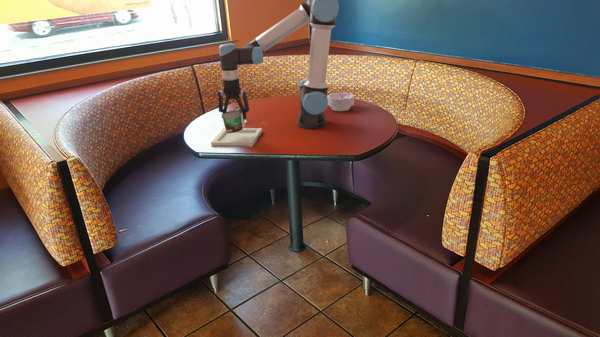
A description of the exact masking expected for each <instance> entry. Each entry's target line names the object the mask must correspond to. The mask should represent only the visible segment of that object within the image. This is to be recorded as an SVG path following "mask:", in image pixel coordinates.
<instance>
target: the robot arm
mask: <svg viewBox="0 0 600 337" xmlns="http://www.w3.org/2000/svg"><path fill="white" fill-rule="evenodd" d="M339 10H340V5H339V1H338V0H305V1H304V2H302V3H301V4H300V5H299V7H298V8H297V9H296V10H294V11H293V12H291V13H290V14H288V15H287V16H285V17H284V18H283V19H281V20H279V22H277V23H276V24H274V25H272V26H271V27H269V28H268V29H267V30H265V31H263V32H262V33H260V34H259V35H258V36H256V37H255V38H253V39H252V40H250V41H247V42H246V43H245V44H244V45H243V46H242V47H237V46H236V44H235V43H230V42H229V43H222V44H220V45H219V46H218V48H219V49H218V50H219V61H220V62H219V63H220V67H221V68H220V69H221V77H222V87H223V88H222V90H218V91H217V97H218V112H219V113H221V114H226V113H227V112H228V107H229V103H230V100H231V99H234V100H235V101H236V103H237V104H238V105H237V106H238V107H240V109H241V111H242V113H241V120H242V127H243V128H245V126H246V123H245V120H247V113H249V112H250V107H249V106H250V105H249V100H248V96H247V95H248V94H247V93H248V91H247V90H246V89H245V90H242V89H241V86H240V78H239V76H240V75H239V68H238V67H239V66H243V65H258V64H263V63H264V53H265V52H266V51H267V50H269V49H270V48H272V47H273V46H275V45H276V44H278V43H280V42H281V41H282V40H284V39H285V38H287V37H288V36H290V35H291V34H292V33H294V32H296V31H297V30H299V29H300V28H302V27H303V26H304V25H306V24H310V26H311V36H310V37H311V39H310V48H309V57H308V58H309V59H308V67H307V68H308V70H307V79H304V80H300V81H299V84H298V88H299V104H300V105H299V107H300V111H299V115H298V117H297V118H298V119H297V126H298V127H300V128H303V129H309V130H310V129H312V130H313V129H320V128H322V127H323V128H324V127H325V126H327V124H328V118H327V116H326V113H325V111H326V110H327V108H328V106H329V105H328V99H327V96H328V92H329V85H328V83H327V82H326V78H327V71H328V62H329V53H330V52H329V51H330V42H331V34H332V29H334V28H335V27H336V21H337V16H338V14H339ZM240 94H241V96H242V99H241V96H240ZM224 95H225V101H223V100H224Z"/></svg>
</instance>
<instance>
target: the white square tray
mask: <svg viewBox="0 0 600 337" xmlns="http://www.w3.org/2000/svg"><path fill="white" fill-rule="evenodd" d="M262 133H263V128H262V127H257V128H256V127H255V128H254V127H243V129H242V130H240V131H238V132H234V133H227V132H226V128H225V127H223V128H222V130H221V131H220V132H219V133H218V134H217V135H216V136H215V138H214V139H213V140H212V141H211V142H210V144H211V145H210V146H211V147H222V148H223V147H226V148H227V147H231V148H233V147H239V148H241V147H242V148H243V147H250V148H253V147H254V145H255V144H256V143H257V141H258V139H259V138H260V137H261V135H262Z"/></svg>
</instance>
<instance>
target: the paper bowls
mask: <svg viewBox="0 0 600 337" xmlns="http://www.w3.org/2000/svg"><path fill="white" fill-rule="evenodd" d="M327 99H328V106H329V107H330V108H331V110H332V111H335V112H346V111H349V110H350V109H351V107H353V106H354V105H355V95H354V94H352V93H349V92H334V93H330V94H329V93H328V94H327Z"/></svg>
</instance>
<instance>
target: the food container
mask: <svg viewBox="0 0 600 337" xmlns="http://www.w3.org/2000/svg"><path fill="white" fill-rule="evenodd" d="M241 113H242V111H241V109H240V107H239V106H238V105H237V106H235V108H234V109H231V110H229V111H227V113H226V114H223V113H221V115H220V116H221V119H222V120H223V124H224V125H223V126H224V128H226V132H227V133H234V132H238V131H240V130H242V129H243V128H244V127H242V120H241Z"/></svg>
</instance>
